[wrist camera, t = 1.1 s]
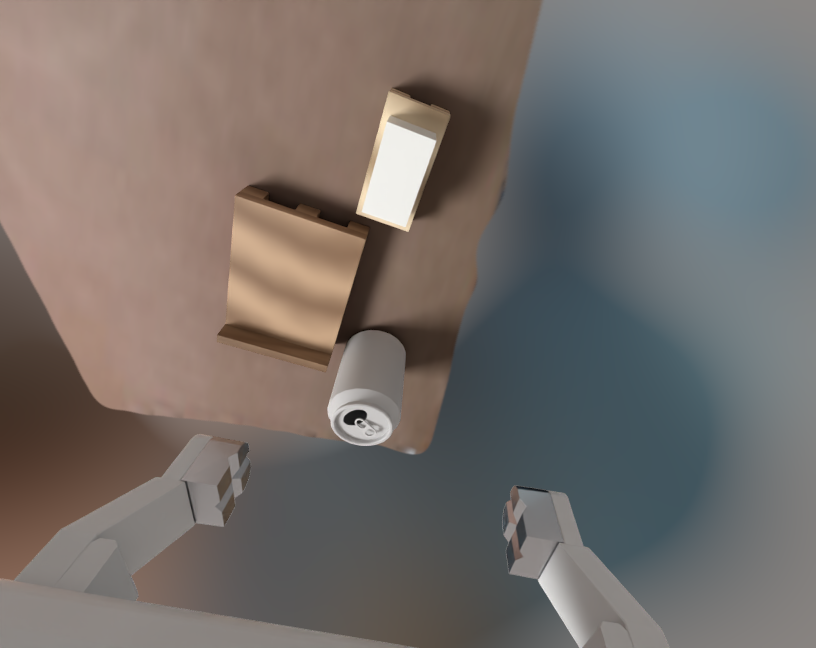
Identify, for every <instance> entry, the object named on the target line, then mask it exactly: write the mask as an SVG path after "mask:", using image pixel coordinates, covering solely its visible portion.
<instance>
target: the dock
mask: <svg viewBox="0 0 816 648" xmlns="http://www.w3.org/2000/svg"><path fill="white" fill-rule="evenodd" d="M268 199H269V192H266V191H263V190H260V189H257V188H254V187H251V186H247V187H246V188H244V189H243V190H242V191H240V192H239V193H238V194H236V195H235V203H234V216H233V230H232V243H231V257H230V270H229V284H228V297H227V311H226V324H225V325H224V327H223V328H222V329H221V331H220V332H219V333H218V335H217V342H219V343H222V344H226V345H230V346H233V347H237V348H240V349H244V350H247V351H251V352H255V353H258V354H262V355H265V356H269V357H272V358H276V359H280V360H283V361H287V362H290V363H294V364H297V365H301V366H305V367H308V368H312V369H315V370H319V371H322V372H326V370H327V367H328V364H329V361H330V358H331V355H332V352H333V349H334V346H335V343H336V339H337V336H338V332H339V329H340V326H341V322H342V319H343V316H344V312H345V309H346V306H347V302H348V299H349V296H350V292H351V289H352V286H353V282H354V279H355V276H356V272H357V269H358V266H359V262H360V259H361V256H362V252H363V249H364V246H365V242H366V239H367V236H368V232H369V229H370V227H367V226H364V225H361V224H359V223H356V222H353V221H350V223H349V225H348V227H344V226H341V225H338V224H335V223H332V222H329V221H326V220H323V219H320V218H319V216H320V211H321V210H318V209H315V208H312V207H309V206H306V205H303V204H301V203H300V204H299V206H298V207H297V208H296V209H295V210H294V209H291V208H288V207H285V206H282V205H279V204H276V203H273V202H270V201H268Z"/></svg>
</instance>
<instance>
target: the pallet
mask: <svg viewBox="0 0 816 648" xmlns="http://www.w3.org/2000/svg"><path fill="white" fill-rule="evenodd" d="M390 115H391V116H393V117H396V118H398V119H401V120H403V121H406V122H409V123H411V124H414V125H416V126H419V127H421V128H424V129H426V130H429V131H431V132H434V133H436V144H435V147H434V149H433V152H432V155H431V158H430V160H429V163H428V166H427V169H426V172H425V174H424V177H423V180H422V183H421V186H420V188H419V191H418V194H417V197H416V200H415V202H414V205H413V208H412V211H411V214H410V216H409V219H408V222H407V225H406V227H403V226H400V225H397V224H394V223H392V222H389V221H386V220H383V219H380V218H377V217H374V216H372V215H369V214H366V213H363V212H362V209H363V205H364V202H365V198H366V194H367V191H368V187H369V184H370V180H371V176H372V173H373V169H374V166H375V162H376V158H377V155H378V151H379V148H380V144H381V140H382V137H383V133H384V130H385V126H386V123H387V120H388V119H389V117H390ZM449 119H450V112H449V111H448V110H445V109H443V108H440V107H438V106H435V105H433V104H431V106H429V105H427V104H424V103H422V102H419V101H417V100H414V99H412V98H410V95H408V94H406V93H403V92H401V91H398V90H396V89H393V88H392V89H391V90H390V91H389V93H388V96H387V100H386V104H385V107H384V111H383V115H382V119H381V122H380V126H379V130H378V133H377V137H376V141H375V145H374V148H373V152H372V156H371V159H370V163H369V167H368V170H367V174H366V178H365V182H364V185H363V189H362V193H361V196H360V200H359V204H358V208H357V211H356V214H358V215H361V216H364V217H367V218H370V219H373V220H376V221H379V222H381V223H384V224H387V225H390V226H393V227H396V228H399V229H402V230H404V231H407V232H408V231H409V229H410V226H411V223H412V220H413V218H414V215H415V212H416V210H417V207H418V204H419V201H420V199H421V196H422V193H423V190H424V188H425V185H426V182H427V179H428V177H429V174H430V171H431V168H432V166H433V163H434V160H435V157H436V155H437V152H438V149H439V146H440V144H441V141H442V138H443V135H444V133H445V130H446V127H447V125H448V122H449Z"/></svg>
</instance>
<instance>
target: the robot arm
mask: <svg viewBox="0 0 816 648" xmlns="http://www.w3.org/2000/svg"><path fill="white" fill-rule="evenodd" d="M248 452H249V445H248V443H246V442H240V441H235V440H230V439H224V438H220V437H214V436H208V435H202V434H197V435H196V436H194V437H193V438H192V439H191V440H190V441H189V443H188V444H187V445H186V447H185V448H184V449H183V450H182V452H181V453H180V454H179V455H178V457H177V458H176V460H175V461H174V462H173V463H172V465H171V466H170V467H169V468H168V470H167V471H166V472H165V473H164V475H163V476H162V477H161V478H159V477H155V478H153V479H152V480H150V481H148V482H146V483H144V484H143V485H141V486H139V487H137V488H135V489H134V490H132V491H130V492H128V493H127V494H124V495H122V496H121V497H119V498H117V499H115V500H113V501H112V502H110V503H108V504H106V505H104V506H103V507H101V508H99V509H97V510H95V511H93V512H91V513H90V514H88V515H86V516H84V517H82V518H81V519H79V520H77V521H75V522H73V523H71V524H70V525H68V526H66V527H64V528H62V529H61V530H60V531H59V532H58V533H57V534H56V535H55V536H54V537H53V538H52V539H51V540H50V541H49V543H48V544H47V545H46V546H45V547H44V548H43V549H42V550H41V551H40V552H39V554H37V556H36V557H35V558H34V559H33V560H32V561H31V562H30V563H29V564H28V565H27V566H26V567H25V569H24V570H23V571H22V572H21V573H20V574H19V575H18V576H17V577H16V578H15V579H14V581H12V580H7V579H1V578H0V648H415V647H408V646H403V645H397V644H390V643H384V642H379V641H373V640H367V639H360V638H355V637H348V636H343V635H337V634H331V633H325V632H319V631H312V630H306V629H301V628H295V627H289V626H283V625H277V624H271V623H265V622H259V621H253V620H247V619H241V618H235V617H229V616H223V615H217V614H211V613H205V612H199V611H193V610H187V609H181V608H175V607H169V606H163V605H157V604H151V603H145V602H139V601H136V599H137V598H138V592H137V589H136V586H135V584H134V582H133V579H132V577H131V575H132V574H134V573H135V572H136V571H137V570H138V569H140V568H141V567H142V566H144V565H145V564H146V563H148V562H149V561H150V560H151V559H153V558H154V557H155V556H156V555H158V554H159V553H160V552H161V551H163V550H164V549H165V548H166V547H168V546H169V545H170V544H171V543H173V542H174V541H175V540H176V539H178V538H179V537H180V536H181V535H183V534H184V533H185V532H187V531H188V530H189V529H190V528H192V527H193V526H194V525H195V523H199V524H207V525H214V526H222V527H224V526H225V524H226V523H227V521H228V519H229V517H230V515H231V513H232V512H233V510H234V507H235V499H234V498H235V497H237V496H238V495H240V494H241V493H243V491H244V489H245V487H246V484H247V482H248V479H249V476H250V471H251V462H250V460H249V459H248V458H247V457H246V456H247V454H248ZM510 495H511V500H510V501H508V502H506V505H505V507H504V511H503V519H502V520H503V534H504V536H505V538H506V539H507V540H508V542H509V544H508V546H507V549H506V556H507V562H508V570H509V574H513V575H518V576H524V577H529V578H534V579H539V580H538V581H539V583H540V585H541V587H542V588H543V590H544V591H545V593H546V594H547V596H548V598H549V599H550V601H551V602H552V604H553V606H554V607H555V609H556V610H557V612H558V614H559V615H560V617H561V619H562V620H563V622H564V623H565V625H566V627H567V628H568V630H569V631H570V633H571V634H572V636H573V637H574V639H575V641H576V642H577V644H578V646H579V647H580V648H669V645H668V643H667V641H666V638H665V636H664V633H663V631H662V629H661V628H660V627H659V626H658V625H657V623H656V622H655V621H654V620H653V619H652V618H651V617H650V616H649V614H648V613H647V612H646V611H645V610H644V609H643V608H642V607H641V606H640V604H639V603H638V602H637V601H636V600H635V599H634V598H633V597H632V595H630V593H629V592H628V591H627V590H626V589H625V588H624V587H623V585H622V584H621V583H620V582H619V581H618V580H617V579H616V578H615V576H614V575H613V574H612V573H611V572H610V571H609V570H608V569H607V568H606V566H605V565H604V564H603V563H602V562H601V561H600V560H599V559H598V558H597V556H596V555H595V554H594V553H593V552H592V551H591V550H590V549H589V548H588V547H584V546H583V543H582V540H581V537H580V534H579V531H578V528H577V525H576V522H575V518H574V515H573V512H572V509H571V506H570V503H569V500H568V497H567V496H566V494H565V493H560V492H553V491H547V490H543V489H536V488H530V487H523V486H516V485H515V486H514V487H513V488H512V490H511V492H510Z"/></svg>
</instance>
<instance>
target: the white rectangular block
mask: <svg viewBox="0 0 816 648" xmlns="http://www.w3.org/2000/svg"><path fill="white" fill-rule="evenodd" d="M435 144H436V133H434V132H431V131H429V130H426V129H424V128H421V127H419V126H416V125H414V124H411V123H409V122H406V121H403V120H401V119H398V118H396V117H393V116H391V115H390V117H389V119H388V120H387V123H386V126H385V130H384V133H383V137H382V140H381V144H380V148H379V151H378V155H377V158H376V162H375V166H374V169H373V173H372V176H371V180H370V184H369V187H368V191H367V194H366V198H365V202H364V205H363V209H362V212H363V213H366V214H369V215H372V216H374V217H377V218H380V219H383V220H386V221H389V222H392V223H394V224H397V225H400V226H403V227H406V225H407V222H408V219H409V216H410V214H411V211H412V208H413V205H414V202H415V200H416V197H417V194H418V191H419V188H420V186H421V183H422V180H423V177H424V174H425V172H426V169H427V166H428V163H429V160H430V158H431V155H432V152H433V149H434V147H435Z"/></svg>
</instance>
